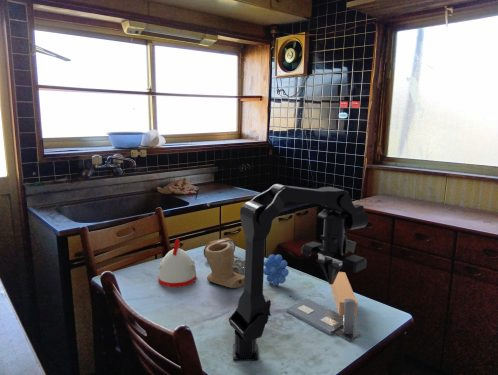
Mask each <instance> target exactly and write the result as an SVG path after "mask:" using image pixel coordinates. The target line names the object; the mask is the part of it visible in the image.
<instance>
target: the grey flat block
mask: <svg viewBox="0 0 498 375" xmlns="http://www.w3.org/2000/svg"><path fill="white" fill-rule="evenodd" d="M334 334H335V335H336V336H338V337H340V338H342V339H344V340H345V341H348V342H350V343H351V342H353V341H354V340H355V339H357V338H358V337H360V336H361V332H359V331H357V330H355V329H354V332H353V334H345V333H344V332H343V328H341V329H339V330H338V331H336V332H335V333H334Z"/></svg>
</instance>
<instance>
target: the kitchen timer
mask: <svg viewBox="0 0 498 375" xmlns="http://www.w3.org/2000/svg"><path fill="white" fill-rule="evenodd" d="M174 240H175V241H174V245H173V249H171V250H169V251H168V252H167V253H166V254H165V256H164V257H163V258H162V259H161V260H160V263H159V268H158V278H157V279H158V284H160V285H162V286H164V287H168V288H180V287H185V286H189V285H191V284H192V283H194V282H195V281H196V280H197V271H196V265H195V259H192V258H191V256H190V255H189V253H188V252H186V251H185V250H183V249H182V248H180V246H181V244H180V243H181V241H180V239H179V238H176V239H174Z"/></svg>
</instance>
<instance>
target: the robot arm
mask: <svg viewBox="0 0 498 375" xmlns="http://www.w3.org/2000/svg"><path fill="white" fill-rule="evenodd" d="M350 197H351V196H350V193H349V191H347V190H345V189H341V188H337V187H333V186H323V187H319V188H309V187H301V186H299V187H298V186H293V185H292V186H291V185H283V184H280V183H275V184H273V185H272V186H270V187H269V188H268V189H267V190H264V191H263V192H261V193H260V194H257V195H255V196H254V197H253V198H252V199H251V200H249V201H247V202H245V203H243V205H242V206H241V207H240V210H239V218H240V225H241V227H242V230H243V233H244V235H245V252H244V254H245V256H244V260H245V273H244V276H245V280H244V285H243V291H242V294H240V297H238V301H237V302H238V303H237V308H236V309H235V311H233V313H232V314H231V316H230V317H229V318H228V322H229V325H230V327H231V328H232V329H233V330H234V343H233V345H232V360H233V361H259V347H258V346H259V345H258V342H257V339H260V338H262V337H263V334H264V331H265V327H266V325H267V324H268V321H269V317H271V316H272V314H271V305H272V303H271V302H272V301H271V300H270V298H268V297H267V296H265V295H264V275H265V274H264V268H265V266H264V262H265V254H266V253H265V251H266V250H265V249H266V239H267V237H268V235H269V234H270V232H271V231H272V227H273V220H275V219H276V218H277V217H278V216H280V214H281V212H282V211H283V209H284V206H285V205H286V204H287V203H288V202H291V203H300V204H301V203H302V204H304V203H305V204H310V205H311V204H313V205H319V206H320V205H321V206H324V207H327V208H330V209H333V210H330V209H329V210H328V209H326V208H324V209H323V210H322V211H320V212H319V213H318V214H317V218H319V219H320V218H321V219H323V234H322V235H320V236H319V238H320V240H322V243H320V242H318V241H317V242H316V241H314V240H313V241H309V242H307V243H305V244H303V245H302V247H301V255H304V256H306V257H310V256H311V255H312V254H317V255H318V257H317V259H316V261H315V262H316V263H318V265H319V266H320V268H321V270H322V272H323V274H324V276H325V278H326V280H327V283H328V284H329V285H330V284H331V285H332V284H333V283H334V281H335V279H336V277H337V274H338V272H341V271H340V270H341V269H342V268H343V270H344V271H347V272H350V273H352V274H355V273H358V272H360V271H362V270H364V269H367V265H368V264H367V259H366V258H365V257H363V256H360V255H357V254H353V253H355V250H356V246H357V242H356V241H352V240H349V239H348V235H345V231H351V230H356V229H361V228H362V229H363V228H365V227H367V225H368V223H369V216H368V213H367V212H366V210H364V209H365V207H364V205H363V204H359V203H358V204H354V203H353V201H352V199H351V198H350ZM349 252H350V253H352V254H351V255H349V256H348V255H346V254H349Z"/></svg>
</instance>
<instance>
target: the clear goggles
mask: <svg viewBox="0 0 498 375" xmlns="http://www.w3.org/2000/svg"><path fill="white" fill-rule="evenodd" d="M217 242H222V243H225V242H227V243H229V244H230V245H231V246H232V248H233V252H234V253H235V251H236V243H235V241H234V240H233V239H231V238H230V237H224V238H219V239H215V240H211V241H209V242H208V243H207V244H206V245H205V246H204V248H203V256H204V258H205V259H206V256H205V249H206V248H207V247H208V246H209V245H211V244H213V243H217Z"/></svg>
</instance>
